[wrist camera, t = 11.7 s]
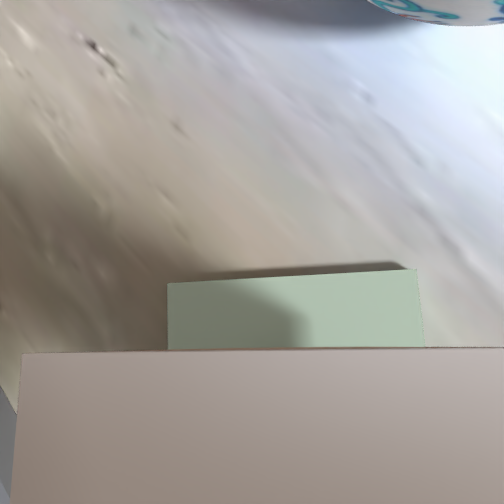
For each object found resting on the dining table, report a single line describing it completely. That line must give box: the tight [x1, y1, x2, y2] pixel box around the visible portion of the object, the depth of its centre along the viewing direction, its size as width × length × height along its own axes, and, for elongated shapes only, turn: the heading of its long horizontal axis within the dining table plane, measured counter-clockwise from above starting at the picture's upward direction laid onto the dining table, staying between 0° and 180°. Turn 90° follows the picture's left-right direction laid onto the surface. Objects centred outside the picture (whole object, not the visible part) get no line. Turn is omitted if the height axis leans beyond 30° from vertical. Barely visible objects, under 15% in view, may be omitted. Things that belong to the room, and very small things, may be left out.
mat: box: [167, 269, 425, 350], centre depth 17 cm, size 9×9×1 cm
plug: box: [10, 347, 504, 504], centre depth 9 cm, size 4×4×12 cm
